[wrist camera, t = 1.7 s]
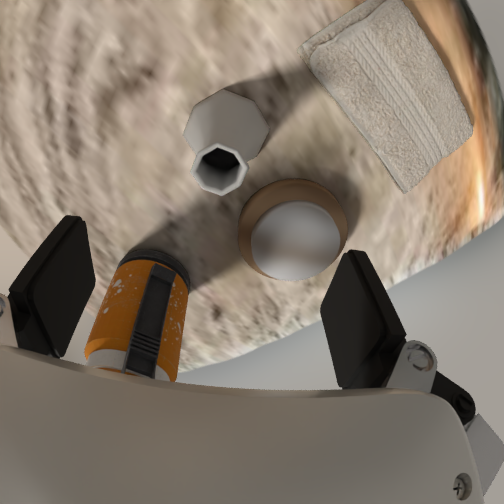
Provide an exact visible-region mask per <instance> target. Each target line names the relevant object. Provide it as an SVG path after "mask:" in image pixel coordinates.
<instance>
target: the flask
mask: <svg viewBox="0 0 504 504" xmlns="http://www.w3.org/2000/svg"><path fill="white" fill-rule="evenodd" d="M269 130H270V128H269V126H268V124H267V122H266V121H265V119H264V117H263V115H262V114H261V112H260V110H259V108H258V107H257V105H256V103H255V102H254V101H252V100H250V99H247V98H245V97H242V96H240V95H237V94H235V93H232V92H229V91H227V90H224V89H222V90H220V91H219V92H217V93H215V94H213V95H212V96H210V97H208V98H207V99H205V100H203V101H202V102H200V103H198V104H197V105H195V106H194V107H193V110H192V112H191V115H190V117H189V120H188V122H187V125H186V128H185V130H184V133H183V137H184V138H185V140H186V141H187V142H188V144H189V145H190V147H191V148H192V150H193V151H194V153H195V154H196V158H195V161H194V163H193V166H192V169H191V171H190V173H191V174H192V175H193V177H194V178H195V180H196V181H197V182H198V184H199V185H200V187H201V188H202V189H204V190H206V191H209V192H212V193H215V194H218V195H220V196H223V195H225V194H227V193H229V192H230V191H232V190H234V189H236V188H238V187H240V186H241V184H242V182H243V180H244V178H245V175H246V173H247V171H248V169H249V165H248V164H247V161H249V160H251V159H253V158H255V157H257V155H258V153H259V151H260V149H261V147H262V144H263V142H264V140H265V138H266V136H267V134H268V132H269Z"/></svg>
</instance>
